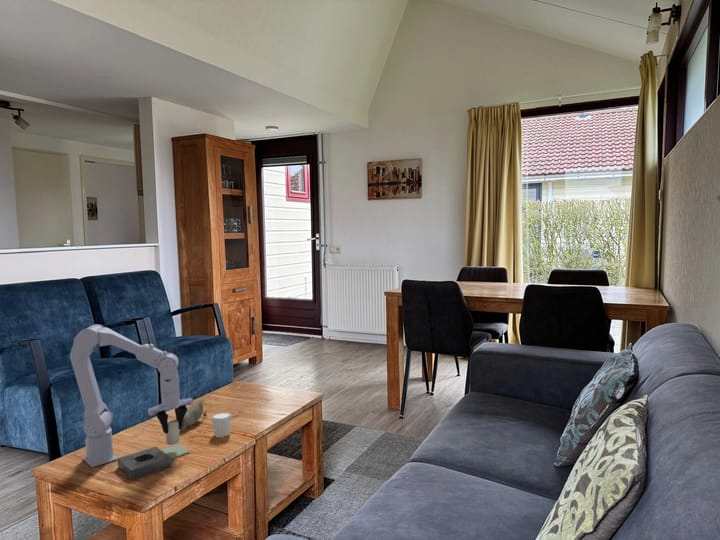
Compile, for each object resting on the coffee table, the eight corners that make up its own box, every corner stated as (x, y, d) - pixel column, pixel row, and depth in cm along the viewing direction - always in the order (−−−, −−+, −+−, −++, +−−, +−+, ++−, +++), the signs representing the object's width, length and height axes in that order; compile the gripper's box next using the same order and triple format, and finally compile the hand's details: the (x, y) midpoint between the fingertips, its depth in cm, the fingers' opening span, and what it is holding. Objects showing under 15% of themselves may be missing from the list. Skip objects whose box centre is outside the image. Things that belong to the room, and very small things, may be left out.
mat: (157, 451, 169) (157, 450, 169) (178, 445, 174) (177, 443, 174) (168, 459, 163) (168, 458, 163) (189, 452, 168) (189, 451, 167)
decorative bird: (174, 432, 187) (173, 412, 186) (196, 417, 202) (196, 398, 202) (187, 433, 186) (186, 413, 185) (209, 417, 201) (208, 399, 201)
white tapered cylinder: (211, 432, 185) (210, 413, 184) (230, 429, 187) (230, 411, 187) (213, 439, 178) (212, 420, 178) (233, 436, 181) (232, 417, 180)
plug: (164, 442, 168) (163, 420, 168) (176, 439, 171) (175, 417, 170) (169, 445, 165) (168, 424, 165) (181, 442, 168) (180, 420, 167)
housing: (118, 467, 158) (117, 458, 158) (156, 455, 166) (155, 446, 166) (131, 480, 149) (131, 470, 149) (171, 466, 158) (170, 457, 158)
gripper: (152, 398, 159) (155, 440, 160) (196, 388, 169) (198, 427, 170) (144, 394, 164) (146, 434, 165) (186, 384, 174) (189, 422, 175)
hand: (172, 430), depth 168 cm, fingers closed on plug, 4 cm apart
